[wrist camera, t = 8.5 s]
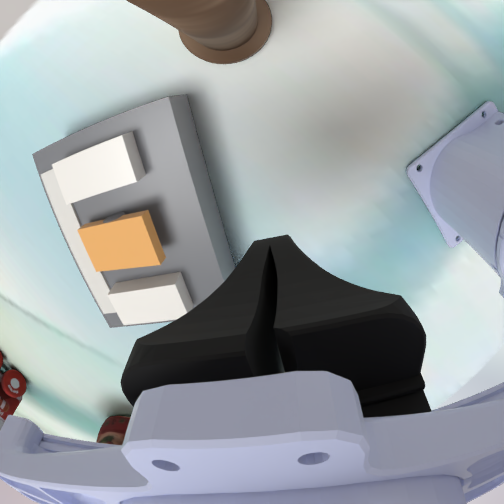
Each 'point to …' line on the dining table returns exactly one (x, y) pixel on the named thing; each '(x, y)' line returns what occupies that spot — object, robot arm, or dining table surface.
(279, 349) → the robot arm
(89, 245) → the breaker paddle
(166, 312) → the switch box
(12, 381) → the toy fire truck
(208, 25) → the walnut post
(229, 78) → the dining table surface
